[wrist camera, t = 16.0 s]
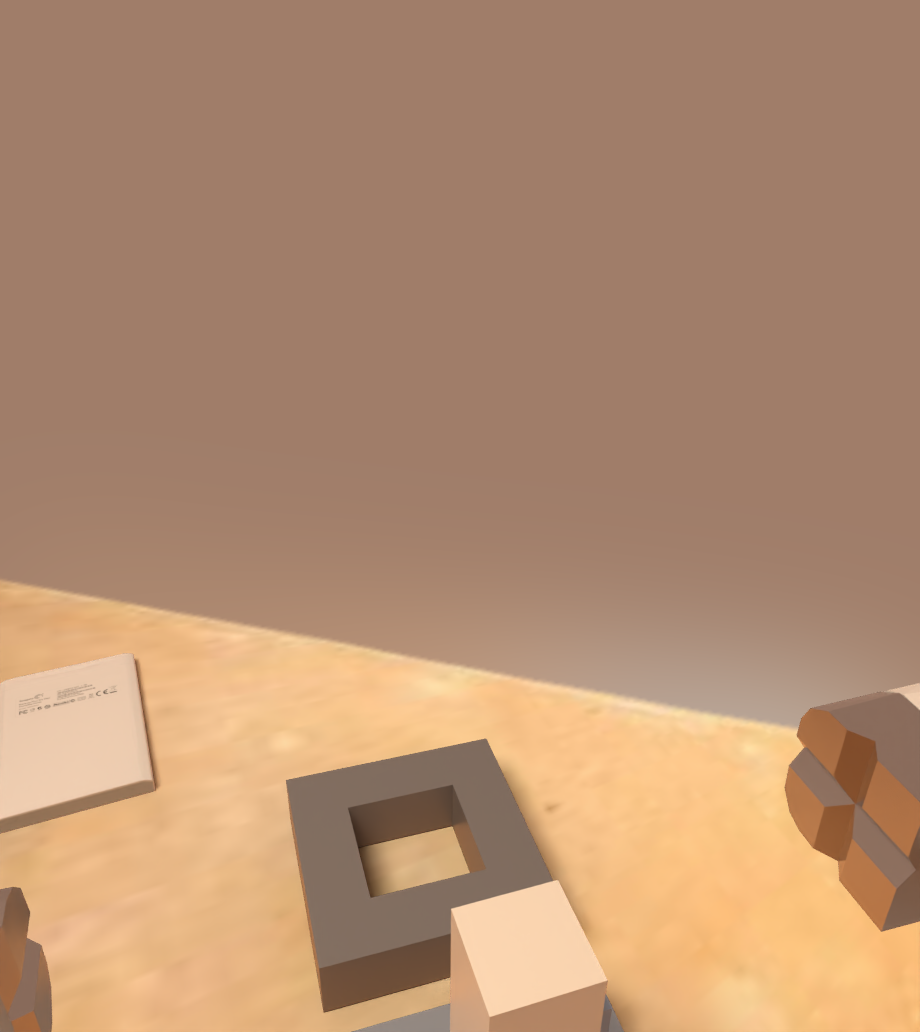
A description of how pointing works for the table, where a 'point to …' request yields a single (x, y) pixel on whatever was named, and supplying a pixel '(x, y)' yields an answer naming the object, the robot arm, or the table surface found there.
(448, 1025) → the socket
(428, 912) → the socket
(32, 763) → the external hard drive
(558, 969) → the plug
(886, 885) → the robot arm
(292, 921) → the table surface
